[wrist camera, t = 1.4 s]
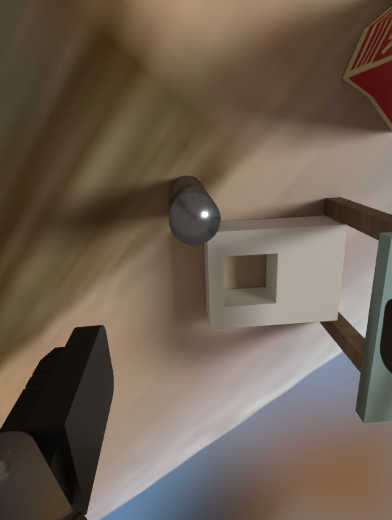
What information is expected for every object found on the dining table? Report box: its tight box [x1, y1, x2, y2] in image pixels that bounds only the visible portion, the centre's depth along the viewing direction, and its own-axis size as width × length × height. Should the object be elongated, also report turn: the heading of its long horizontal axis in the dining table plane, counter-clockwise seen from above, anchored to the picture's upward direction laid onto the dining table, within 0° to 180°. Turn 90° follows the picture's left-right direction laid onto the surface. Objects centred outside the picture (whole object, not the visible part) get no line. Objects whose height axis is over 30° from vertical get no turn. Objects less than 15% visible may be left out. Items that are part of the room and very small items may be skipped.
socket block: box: [204, 216, 347, 329], centre depth 35 cm, size 13×10×4 cm
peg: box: [169, 176, 221, 245], centre depth 29 cm, size 3×3×12 cm
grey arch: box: [320, 197, 392, 423], centre depth 30 cm, size 4×14×15 cm, turn 2°
